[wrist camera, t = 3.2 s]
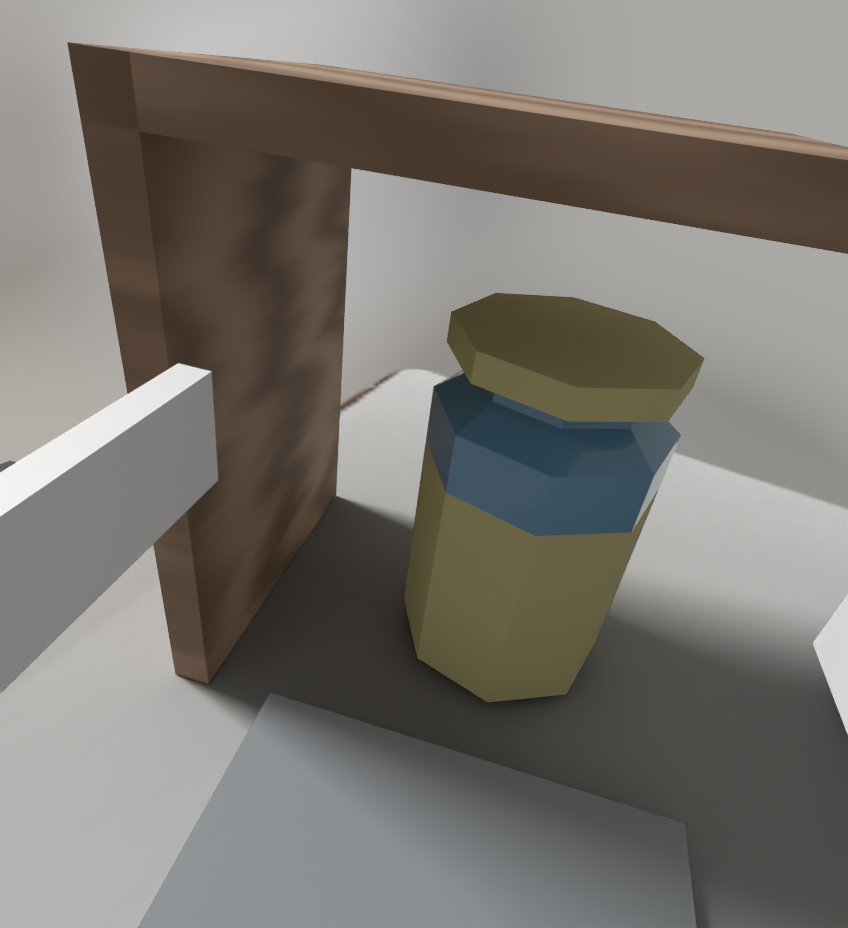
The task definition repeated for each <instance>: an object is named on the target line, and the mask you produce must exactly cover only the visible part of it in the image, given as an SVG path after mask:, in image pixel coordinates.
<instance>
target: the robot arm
mask: <svg viewBox="0 0 848 928" xmlns="http://www.w3.org/2000/svg"><path fill="white" fill-rule="evenodd" d="M217 481H218V467H217V451H216V435H215V419H214V403H213V387H212V371H208V370H204V369H200V368H195V367H191V366H187V365H183V364H179V363H178V364H176V365H174V366H173V367H171V368H170V369H168V370H166V371H165V372H163V373H161V374H160V375H158V376H157V377H155V378H153V379H152V380H150V381H148V382H147V383H145V384H144V385H142V386H140V387H139V388H137V389H135V390H134V391H132V392H130V393H129V394H127V395H126V396H124V397H122V398H121V399H119V400H118V401H116V402H114V403H113V404H111V405H110V406H108V407H106V408H105V409H103V410H101V411H100V412H98V413H96V414H95V415H93V416H92V417H90V418H88V419H87V420H85V421H83V422H82V423H80V424H78V425H77V426H75V427H74V428H72V429H70V430H69V431H67V432H65V433H64V434H62V435H60V436H59V437H57V438H56V439H54V440H52V441H51V442H49V443H48V444H46V445H44V446H42V447H41V448H39V449H38V450H36V451H35V452H33V453H31V454H29V455H28V456H26V457H25V458H23V459H21V460H20V461H18V462H12V461H9V462H5V463H3V464H0V693H1V692H2V691H4V690H5V689H6V688H7V687H8V686H9V685H10V684H11V683H12V682H13V681H14V680H15V679H16V678H17V677H18V676H19V675H20V674H21V673H22V672H23V671H24V670H25V669H26V668H27V667H28V666H29V665H30V664H31V663H32V662H33V661H34V660H35V659H36V658H37V657H38V656H39V655H40V654H41V653H42V652H43V651H44V650H45V649H46V648H47V647H48V646H49V645H50V644H51V643H53V642H54V641H55V640H56V639H57V638H58V637H59V636H60V635H61V634H62V633H63V632H64V631H65V630H66V629H67V628H68V627H69V626H70V625H71V624H72V623H73V622H74V621H75V620H76V619H77V618H78V617H79V616H80V615H81V614H82V613H83V612H84V611H85V610H86V609H87V608H88V607H89V606H90V605H91V604H92V603H93V602H94V601H95V600H96V599H97V598H98V597H99V596H101V595H102V594H103V593H104V592H105V591H106V590H107V589H108V588H109V587H110V586H111V585H112V584H113V583H114V582H115V581H116V580H117V579H118V578H119V577H120V576H121V575H122V574H123V573H124V572H125V571H126V570H127V569H128V568H129V567H130V566H131V565H132V564H133V563H134V562H135V561H136V560H137V559H138V558H139V557H140V556H141V555H142V554H143V553H144V552H145V551H146V550H147V549H148V548H150V547H151V546H152V545H153V544H154V543H155V542H156V541H157V540H158V539H159V538H160V537H161V536H162V535H163V534H164V533H165V532H166V531H167V530H168V529H169V528H170V527H171V526H172V525H173V524H174V523H175V522H176V521H177V520H178V519H179V518H180V517H181V516H182V515H183V514H184V513H185V512H186V511H187V510H188V509H189V508H190V507H191V506H192V505H193V504H194V503H195V502H196V501H198V500H199V499H200V498H201V497H202V496H203V495H204V494H205V493H206V492H207V491H208V490H209V489H210V488H211V487H212V486H213V485H214V484H215V483H216V482H217ZM813 645H814V648H815V651H816V653H817V656H818V658H819V661H820V664H821V666H822V669H823V671H824V674H825V677H826V679H827V682H828V685H829V687H830V690H831V692H832V695H833V698H834V700H835V703H836V705H837V708H838V711H839V713H840V716H841V718H842V721H843V724H844V726H845V729H846V732H847V734H848V595H847V596H846V598H845V599H844V601H843V602H842V603H841V605H840V606H839V608H838V609H837V610H836V612H835V613H834V614H833V616H832V617H831V619H830V620H829V621H828V623H827V624H826V625H825V627H824V628H823V630H822V631H821V632H820V634H819V635H818V637H817V638H816V639H815V641H814V642H813Z"/></svg>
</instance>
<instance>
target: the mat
mask: <svg viewBox="0 0 848 928" xmlns="http://www.w3.org/2000/svg"><path fill="white" fill-rule="evenodd" d="M138 928H697V927H696V918H695V908H694V899H693V889H692V880H691V870H690V861H689V851H688V842H687V833H686V823H683V822H680V821H677V820H673V819H670V818H667V817H664V816H661V815H658V814H654V813H651V812H648V811H645V810H642V809H639V808H635V807H632V806H629V805H626V804H623V803H620V802H616V801H613V800H610V799H607V798H604V797H601V796H597V795H594V794H591V793H588V792H585V791H582V790H578V789H575V788H572V787H569V786H566V785H563V784H559V783H556V782H553V781H550V780H547V779H544V778H540V777H537V776H534V775H531V774H528V773H525V772H521V771H518V770H515V769H512V768H509V767H506V766H502V765H499V764H496V763H493V762H490V761H487V760H483V759H480V758H477V757H474V756H471V755H468V754H464V753H461V752H458V751H455V750H452V749H449V748H445V747H442V746H439V745H436V744H433V743H430V742H426V741H423V740H420V739H417V738H414V737H411V736H407V735H404V734H401V733H398V732H395V731H391V730H388V729H385V728H382V727H379V726H376V725H372V724H369V723H366V722H363V721H360V720H357V719H353V718H350V717H347V716H344V715H341V714H338V713H334V712H331V711H328V710H325V709H322V708H319V707H315V706H312V705H309V704H306V703H303V702H300V701H296V700H293V699H290V698H287V697H284V696H281V695H277V694H274V693H271V692H270V693H269V695H268V697H267V699H266V700H265V702H264V704H263V706H262V708H261V709H260V711H259V713H258V715H257V716H256V718H255V720H254V722H253V724H252V725H251V727H250V729H249V731H248V732H247V734H246V736H245V738H244V740H243V741H242V743H241V745H240V747H239V749H238V750H237V752H236V754H235V756H234V757H233V759H232V761H231V763H230V765H229V766H228V768H227V770H226V772H225V773H224V775H223V777H222V779H221V781H220V782H219V784H218V786H217V788H216V789H215V791H214V793H213V795H212V797H211V798H210V800H209V802H208V804H207V805H206V807H205V809H204V811H203V813H202V814H201V816H200V818H199V820H198V822H197V823H196V825H195V827H194V829H193V830H192V832H191V834H190V836H189V838H188V839H187V841H186V843H185V845H184V846H183V848H182V850H181V852H180V854H179V855H178V857H177V859H176V861H175V862H174V864H173V866H172V868H171V870H170V871H169V873H168V875H167V877H166V879H165V880H164V882H163V884H162V886H161V887H160V889H159V891H158V893H157V895H156V896H155V898H154V900H153V902H152V903H151V905H150V907H149V909H148V911H147V912H146V914H145V916H144V918H143V919H142V921H141V923H140V925H139V927H138Z"/></svg>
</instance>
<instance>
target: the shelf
mask: <svg viewBox="0 0 848 928" xmlns="http://www.w3.org/2000/svg"><path fill="white" fill-rule="evenodd" d="M68 48H69V54H70V60H71V66H72V72H73V77H74V83H75V89H76V95H77V101H78V107H79V112H80V118H81V124H82V130H83V136H84V142H85V147H86V153H87V159H88V165H89V171H90V176H91V183H92V188H93V194H94V200H95V206H96V211H97V218H98V223H99V229H100V235H101V241H102V246H103V252H104V258H105V264H106V270H107V275H108V282H109V288H110V294H111V299H112V305H113V311H114V317H115V323H116V328H117V334H118V340H119V346H120V351H121V358H122V363H123V369H124V375H125V381H126V387H127V393H128V394H129V393H130V392H132V391H134V390H135V389H137V388H139V387H140V386H142V385H144V384H145V383H147V382H148V381H150V380H152V379H153V378H155V377H157V376H158V375H160V374H161V373H163V372H165V371H166V370H168V369H170V368H171V367H173V366H174V365H176V364H178V363H179V364H183V365H187V366H191V367H195V368H200V369H204V370H208V371H212V387H213V403H214V419H215V435H216V451H217V467H218V481H217V482H216V483H215V484H214V485H213V486H212V487H211V488H210V489H209V490H208V491H207V492H206V493H205V494H204V495H203V496H202V497H201V498H200V499H199V500H198V501H196V502H195V503H194V504H193V505H192V506H191V507H190V508H189V509H188V510H187V511H186V512H185V513H184V514H183V515H182V516H181V517H180V518H179V519H178V520H177V521H176V522H175V523H174V524H173V525H172V526H171V527H170V528H169V529H168V530H167V531H166V532H165V533H164V534H163V535H162V536H161V537H160V538H159V539H158V540H157V541H156V542H155V543H154V544H153V545H154V550H155V556H156V562H157V568H158V574H159V580H160V585H161V591H162V597H163V603H164V609H165V615H166V621H167V626H168V632H169V638H170V644H171V650H172V656H173V661H174V667H175V673H176V674H177V675H181V676H184V677H187V678H190V679H193V680H196V681H199V682H203V683H206V684H209V683H210V682H211V680H212V679H213V677H214V676H215V674H216V673H217V671H218V670H219V668H220V667H221V665H222V664H223V662H224V661H225V659H226V658H227V656H228V655H229V653H230V652H231V650H232V649H233V647H234V646H235V645H236V643H237V642H238V640H239V639H240V637H241V636H242V634H243V633H244V631H245V630H246V628H247V627H248V625H249V624H250V622H251V621H252V619H253V618H254V616H255V615H256V613H257V612H258V610H259V609H260V607H261V606H262V604H263V603H264V601H265V600H266V598H267V597H268V595H269V594H270V592H271V591H272V589H273V588H274V586H275V585H276V584H277V582H278V581H279V579H280V578H281V576H282V575H283V573H284V572H285V570H286V569H287V567H288V566H289V564H290V563H291V561H292V560H293V558H294V557H295V555H296V554H297V552H298V551H299V549H300V548H301V546H302V545H303V543H304V542H305V540H306V539H307V537H308V536H309V534H310V533H311V531H312V530H313V528H314V527H315V526H316V524H317V523H318V521H319V520H320V518H321V517H322V515H323V514H324V512H325V511H326V509H327V508H328V506H329V505H330V503H331V502H332V500H333V499H334V497H335V496H336V483H337V462H338V441H339V419H340V397H341V376H342V356H343V334H344V313H345V292H346V291H345V290H346V270H347V250H348V227H349V207H350V185H351V168H354V169H360V170H366V171H371V172H377V173H383V174H389V175H394V176H400V177H406V178H412V179H418V180H423V181H429V182H435V183H442V184H447V185H453V186H458V187H465V188H470V189H476V190H481V191H487V192H493V193H499V194H505V195H510V196H517V197H523V198H528V199H534V200H539V201H546V202H551V203H557V204H563V205H568V206H574V207H580V208H586V209H592V210H597V211H603V212H609V213H615V214H621V215H626V216H632V217H638V218H644V219H650V220H656V221H661V222H667V223H673V224H679V225H685V226H690V227H696V228H702V229H708V230H714V231H720V232H725V233H732V234H737V235H742V236H748V237H754V238H760V239H766V240H771V241H777V242H783V243H789V244H795V245H801V246H806V247H812V248H818V249H823V250H829V251H835V252H841V253H847V254H848V147H844V146H840V145H836V144H831V143H828V142H824V141H819V140H815V139H811V138H807V137H802V136H798V135H794V134H788V133H782V132H775V131H768V130H761V129H754V128H748V127H741V126H734V125H727V124H720V123H713V122H707V121H699V120H693V119H686V118H680V117H672V116H666V115H659V114H652V113H645V112H639V111H632V110H624V109H618V108H611V107H605V106H597V105H591V104H584V103H577V102H570V101H564V100H557V99H550V98H543V97H536V96H529V95H523V94H515V93H509V92H502V91H495V90H489V89H482V88H475V87H468V86H461V85H455V84H448V83H441V82H434V81H427V80H420V79H414V78H406V77H400V76H393V75H387V74H380V73H373V72H366V71H359V70H352V69H345V68H339V67H332V66H325V65H316V64H305V63H294V62H283V61H272V60H260V59H249V58H238V57H227V56H215V55H204V54H193V53H182V52H170V51H159V50H148V49H136V48H125V47H114V46H103V45H92V44H80V43H68Z"/></svg>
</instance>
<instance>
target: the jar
mask: <svg viewBox="0 0 848 928" xmlns="http://www.w3.org/2000/svg"><path fill="white" fill-rule="evenodd" d="M447 343H448V344H449V346H450V348H451V350H452V351H453V353H454V355H455V357H456V359H457V360H458V362H459V364H460V366H461V368H462V369H463V370H461V371H460V372H458V373H456V374H454V375H453V376H451V377H449V378H447V379H446V380H444V381H442V382H440V383H439V384H437V385H435V386H434V388H433V395H432V402H431V409H430V416H429V423H428V431H427V438H426V445H425V452H424V459H423V466H422V473H421V480H420V487H419V494H418V501H417V508H416V515H415V522H414V530H413V537H412V544H411V551H410V558H409V565H408V572H407V579H406V586H405V593H404V601H405V605H406V610H407V614H408V619H409V623H410V628H411V632H412V637H413V641H414V646H415V650H416V655H417V658H418V659H420V660H421V661H423V662H425V663H426V664H428V665H429V666H431V667H432V668H434V669H436V670H437V671H439V672H440V673H442V674H443V675H445V676H447V677H448V678H450V679H451V680H453V681H454V682H456V683H458V684H459V685H461V686H462V687H464V688H465V689H467V690H469V691H470V692H472V693H473V694H475V695H476V696H478V697H480V698H481V699H483V700H484V701H486V702H487V703H488V702H497V701H507V700H517V699H526V698H536V697H545V696H555V695H564V694H567V692H568V691H569V689H570V687H571V685H572V683H573V682H574V680H575V678H576V676H577V674H578V673H579V671H580V669H581V667H582V665H583V664H584V662H585V660H586V658H587V656H588V655H589V653H590V651H591V649H592V647H593V646H594V644H595V642H596V639H597V637H598V635H599V632H600V630H601V627H602V625H603V623H604V620H605V618H606V615H607V613H608V610H609V608H610V606H611V603H612V601H613V598H614V596H615V593H616V591H617V589H618V586H619V584H620V581H621V579H622V577H623V574H624V572H625V569H626V567H627V564H628V562H629V560H630V557H631V555H632V552H633V550H634V547H635V545H636V543H637V540H638V538H639V535H640V533H641V531H642V528H643V526H644V523H645V521H646V518H647V516H648V514H649V511H650V509H651V506H652V504H653V501H654V499H655V497H656V494H657V492H658V489H659V487H660V485H661V482H662V480H663V477H664V475H665V472H666V470H667V468H668V465H669V463H670V460H671V458H672V455H673V453H674V451H675V448H676V446H677V443H678V441H679V439H680V436H681V435H680V433H679V432H678V431H677V430H676V429H675V428H674V427H673V426H672V425H671V424H670V423H669V422H668V421H669V420H670V418H671V417H672V415H673V414H674V413H675V411H676V410H677V409H678V407H679V406H680V405H681V403H682V402H683V400H684V399H685V398H686V396H687V395H688V394H689V392H690V391H691V389H692V388H693V386H694V383H695V381H696V378H697V376H698V373H699V371H700V368H701V366H702V363H703V361H704V358H703V357H702V356H701V355H699V354H698V353H697V352H695V351H694V350H693V349H691V348H690V347H688V346H687V345H686V344H684V343H683V342H682V341H680V340H679V339H678V338H676V337H675V336H673V335H672V334H671V333H670V332H668V331H667V330H665V329H664V328H663V327H661V326H660V325H659V324H657V323H656V322H654V321H651V320H648V319H644V318H641V317H637V316H634V315H631V314H627V313H624V312H621V311H617V310H614V309H611V308H607V307H604V306H601V305H597V304H594V303H591V302H587V301H584V300H580V299H577V298H574V297H556V296H538V295H521V294H504V293H495V294H492V295H490V296H487V297H485V298H483V299H480V300H478V301H476V302H473V303H471V304H469V305H466V306H464V307H462V308H459V309H457V310H455V311H452V312H451V317H450V324H449V331H448V338H447Z"/></svg>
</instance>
